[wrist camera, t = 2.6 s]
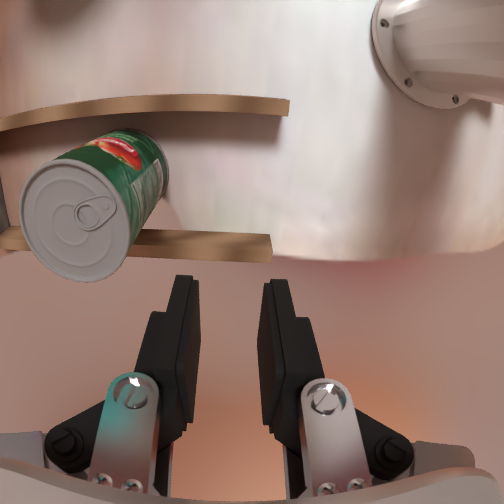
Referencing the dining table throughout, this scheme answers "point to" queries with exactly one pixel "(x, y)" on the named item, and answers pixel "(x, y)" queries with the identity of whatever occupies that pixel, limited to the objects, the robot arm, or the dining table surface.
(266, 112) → the bay
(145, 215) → the canned tomato
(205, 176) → the dining table surface
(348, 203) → the dining table surface
